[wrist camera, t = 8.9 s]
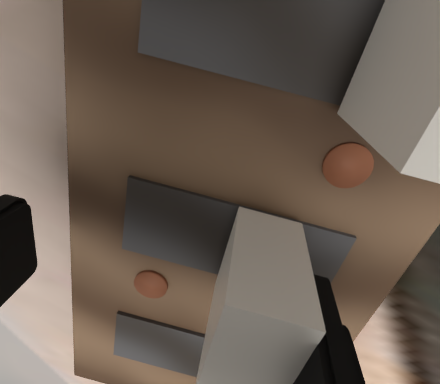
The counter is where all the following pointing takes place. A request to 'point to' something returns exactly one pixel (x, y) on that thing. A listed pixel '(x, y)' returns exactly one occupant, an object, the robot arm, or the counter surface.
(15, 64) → the counter surface
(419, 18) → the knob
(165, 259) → the switch board
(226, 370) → the knob middle
